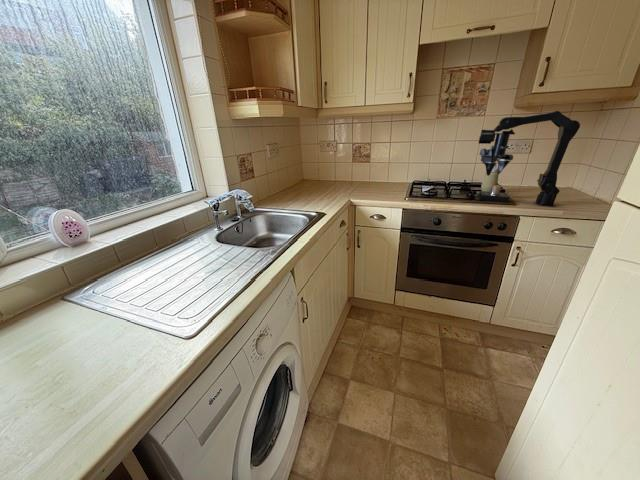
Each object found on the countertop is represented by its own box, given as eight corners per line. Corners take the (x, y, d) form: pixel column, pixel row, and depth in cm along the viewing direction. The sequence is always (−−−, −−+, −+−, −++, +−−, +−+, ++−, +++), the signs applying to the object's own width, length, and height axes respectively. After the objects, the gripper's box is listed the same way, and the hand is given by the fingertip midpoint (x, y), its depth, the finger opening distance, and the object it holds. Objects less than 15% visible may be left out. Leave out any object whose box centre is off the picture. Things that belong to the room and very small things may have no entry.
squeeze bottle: (482, 194, 156) (489, 163, 149) (478, 191, 164) (485, 161, 156) (497, 194, 155) (505, 163, 147) (492, 191, 162) (500, 161, 155)
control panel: (504, 198, 148) (506, 192, 146) (508, 202, 139) (509, 196, 138) (478, 196, 152) (479, 190, 151) (480, 200, 144) (481, 194, 143)
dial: (498, 193, 146) (500, 184, 144) (499, 195, 142) (501, 186, 140) (489, 192, 147) (491, 184, 145) (490, 194, 144) (492, 185, 142)
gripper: (495, 142, 145) (488, 171, 151) (474, 143, 137) (468, 174, 143) (517, 143, 136) (509, 174, 142) (496, 145, 128) (488, 177, 134)
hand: (493, 174), depth 141 cm, fingers open, 9 cm apart
